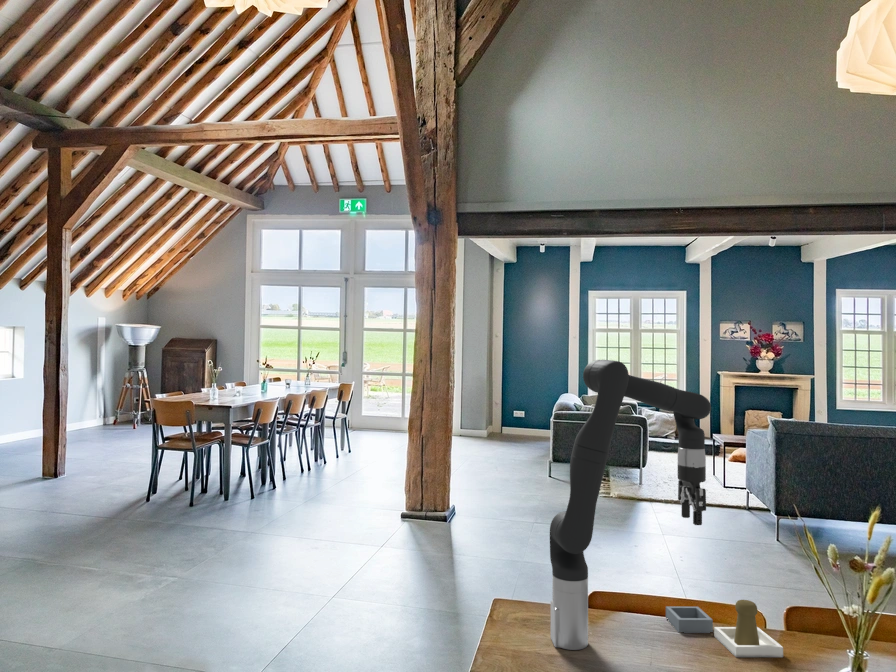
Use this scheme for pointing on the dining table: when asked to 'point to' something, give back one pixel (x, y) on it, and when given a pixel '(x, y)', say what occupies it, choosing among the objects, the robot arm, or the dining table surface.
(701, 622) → the box
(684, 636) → the dining table surface
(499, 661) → the dining table surface
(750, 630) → the cork
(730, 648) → the tray
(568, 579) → the robot arm
